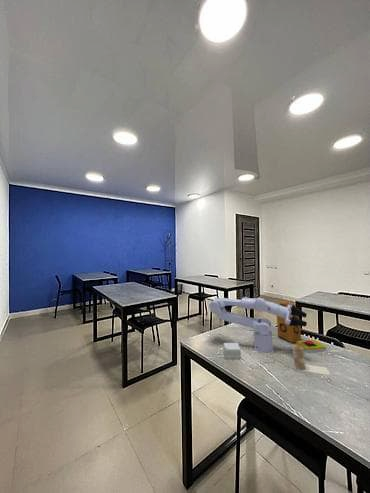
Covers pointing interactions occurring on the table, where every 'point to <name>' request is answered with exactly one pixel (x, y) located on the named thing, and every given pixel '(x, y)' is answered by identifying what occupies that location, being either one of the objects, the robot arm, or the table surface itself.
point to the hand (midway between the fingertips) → (306, 320)
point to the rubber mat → (316, 369)
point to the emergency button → (312, 346)
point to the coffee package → (288, 327)
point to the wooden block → (298, 357)
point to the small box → (232, 351)
